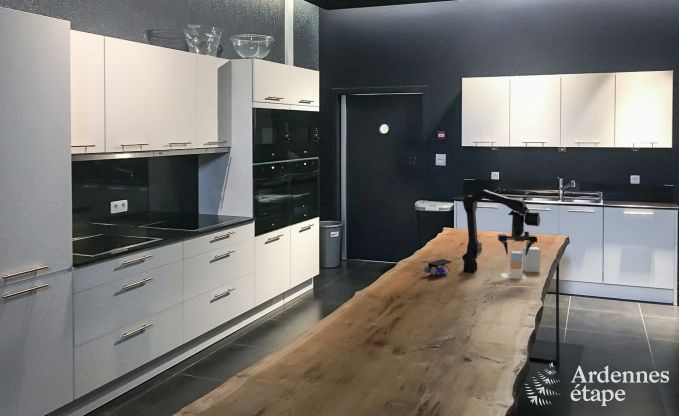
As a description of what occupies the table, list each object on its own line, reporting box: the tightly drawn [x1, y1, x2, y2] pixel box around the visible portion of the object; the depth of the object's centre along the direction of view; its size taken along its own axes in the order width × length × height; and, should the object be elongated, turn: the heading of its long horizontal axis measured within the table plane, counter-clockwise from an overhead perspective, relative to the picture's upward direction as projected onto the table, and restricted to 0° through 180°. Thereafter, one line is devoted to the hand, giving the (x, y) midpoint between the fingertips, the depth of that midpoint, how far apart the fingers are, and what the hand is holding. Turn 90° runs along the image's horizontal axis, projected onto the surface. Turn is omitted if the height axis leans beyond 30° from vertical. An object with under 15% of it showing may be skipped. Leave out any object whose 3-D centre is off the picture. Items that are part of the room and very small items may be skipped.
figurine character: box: [422, 258, 453, 278], centre depth 339 cm, size 7×8×15 cm
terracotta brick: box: [509, 259, 523, 269], centre depth 337 cm, size 5×5×4 cm
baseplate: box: [500, 273, 528, 280], centre depth 337 cm, size 12×10×1 cm
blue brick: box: [510, 250, 523, 262], centre depth 336 cm, size 5×5×4 cm
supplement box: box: [522, 246, 542, 273], centre depth 350 cm, size 7×7×13 cm
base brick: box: [508, 265, 524, 277], centre depth 337 cm, size 6×6×4 cm
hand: (516, 255), depth 336 cm, fingers open, 9 cm apart
